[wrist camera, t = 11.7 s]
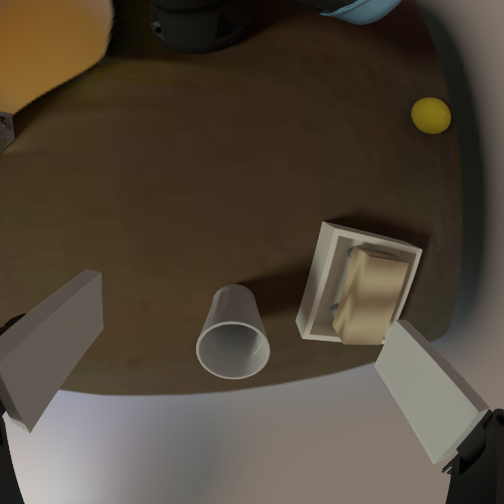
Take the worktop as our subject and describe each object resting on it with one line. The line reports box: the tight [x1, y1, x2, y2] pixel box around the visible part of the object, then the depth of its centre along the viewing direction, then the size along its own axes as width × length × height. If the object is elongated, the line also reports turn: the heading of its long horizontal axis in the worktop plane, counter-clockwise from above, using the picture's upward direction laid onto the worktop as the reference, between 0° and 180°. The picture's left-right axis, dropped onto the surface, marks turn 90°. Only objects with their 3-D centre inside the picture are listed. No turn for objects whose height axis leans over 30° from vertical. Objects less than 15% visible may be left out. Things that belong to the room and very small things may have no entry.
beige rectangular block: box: [332, 246, 409, 345], centre depth 34 cm, size 12×6×5 cm, turn 171°
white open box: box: [296, 221, 422, 344], centre depth 37 cm, size 16×15×5 cm
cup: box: [196, 284, 270, 379], centre depth 34 cm, size 8×8×12 cm
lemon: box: [411, 97, 451, 134], centre depth 29 cm, size 6×6×8 cm
